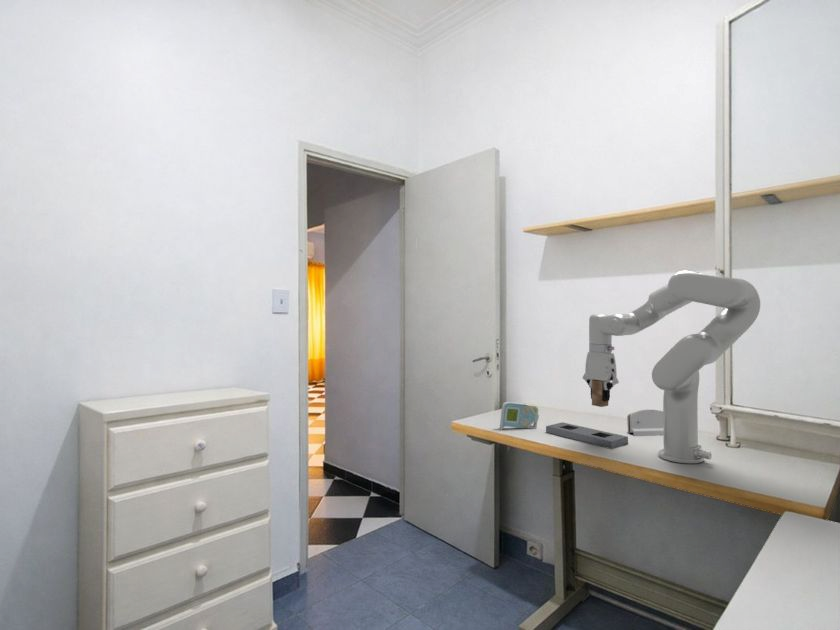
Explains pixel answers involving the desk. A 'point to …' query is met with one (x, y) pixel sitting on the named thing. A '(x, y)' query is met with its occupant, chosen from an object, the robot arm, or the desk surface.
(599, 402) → the walnut block
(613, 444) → the grey slotted board
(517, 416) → the handheld gaming console
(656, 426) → the grey curved-top block
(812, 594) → the desk surface
